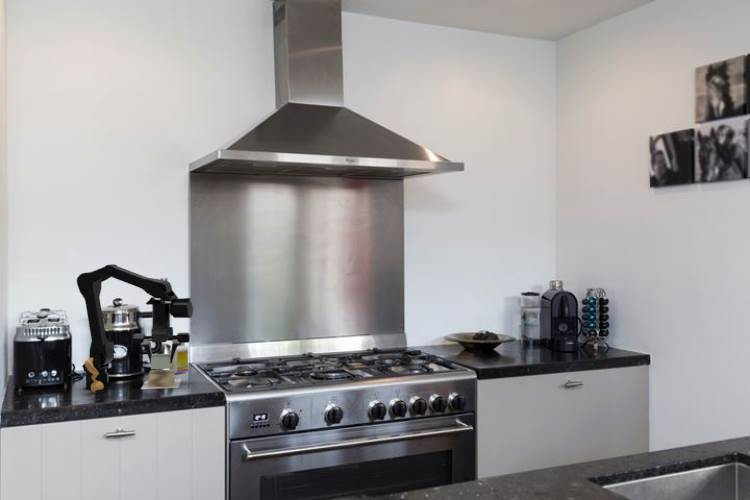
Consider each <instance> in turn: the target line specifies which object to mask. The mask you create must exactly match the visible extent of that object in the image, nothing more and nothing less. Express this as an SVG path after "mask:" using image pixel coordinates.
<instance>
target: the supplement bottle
mask: <svg viewBox="0 0 750 500" xmlns="http://www.w3.org/2000/svg"><path fill="white" fill-rule="evenodd" d="M171 343H173V341H172V342H171ZM171 350H172V346H170V348H169V354H171ZM169 370H175V374H177V373H188V372H189V348H188V346H187V345H186V344H185V343H182V344H181V345H178V347H177V349H176V351H175V354H174V357H173V361H172V363H171V367H170V369H169Z"/></svg>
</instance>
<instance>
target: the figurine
mask: <svg viewBox="0 0 750 500" xmlns="http://www.w3.org/2000/svg"><path fill="white" fill-rule="evenodd" d="M92 361H93V358H90V359H89V358H88V359H86V360H85V361H84V364H85V366H86V367H87V370H89V371H90V373H92V374H93V375H92V380H93V381H94V383H92V385H91V389H90V390H91V392H92V393H96V392H97V391H100V390H103V389H104V387H105V384H103V383H102V382H100V381H97V380H95V378H96V377H97V375H98V374H99V373H98V371H97V370H96V369H95V368H94V366H93V362H92ZM93 369H94V370H95V371H94V370H93ZM96 372H97V373H96ZM93 377H94V379H93Z"/></svg>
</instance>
